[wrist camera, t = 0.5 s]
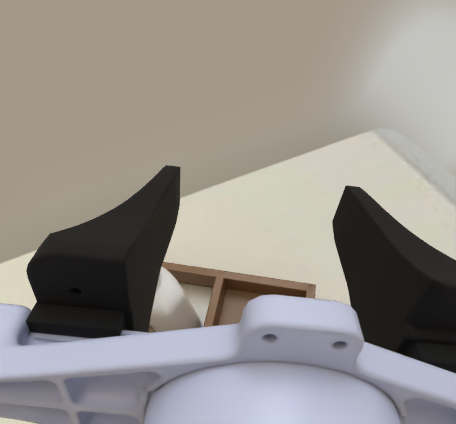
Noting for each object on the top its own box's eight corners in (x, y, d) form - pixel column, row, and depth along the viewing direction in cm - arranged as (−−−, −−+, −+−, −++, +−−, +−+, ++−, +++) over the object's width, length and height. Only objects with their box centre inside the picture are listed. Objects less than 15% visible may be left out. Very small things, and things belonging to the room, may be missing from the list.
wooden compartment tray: (293, 534, 22) (294, 542, 20) (71, 467, 26) (52, 468, 24) (313, 296, 31) (315, 284, 29) (145, 270, 35) (137, 257, 33)
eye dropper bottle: (185, 282, 33) (147, 208, 24) (207, 337, 30) (174, 277, 20) (141, 302, 33) (83, 235, 23) (159, 360, 30) (101, 310, 20)
